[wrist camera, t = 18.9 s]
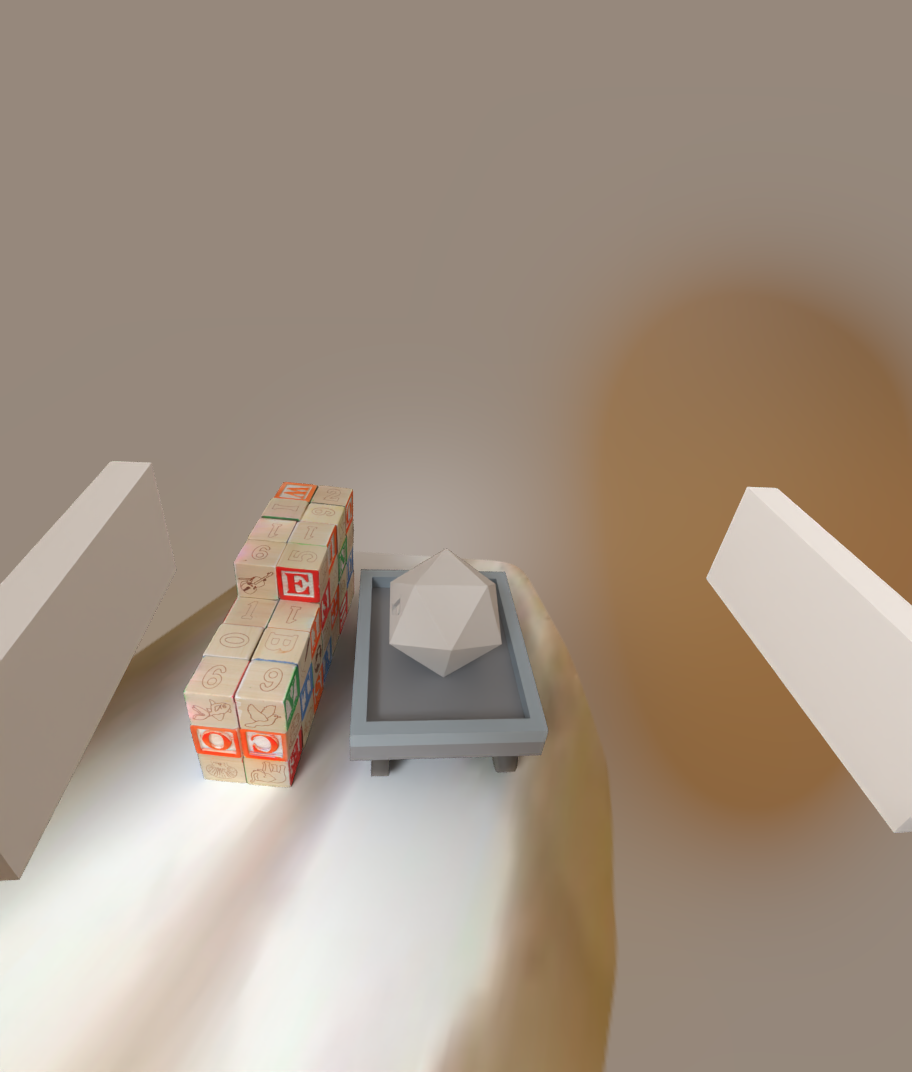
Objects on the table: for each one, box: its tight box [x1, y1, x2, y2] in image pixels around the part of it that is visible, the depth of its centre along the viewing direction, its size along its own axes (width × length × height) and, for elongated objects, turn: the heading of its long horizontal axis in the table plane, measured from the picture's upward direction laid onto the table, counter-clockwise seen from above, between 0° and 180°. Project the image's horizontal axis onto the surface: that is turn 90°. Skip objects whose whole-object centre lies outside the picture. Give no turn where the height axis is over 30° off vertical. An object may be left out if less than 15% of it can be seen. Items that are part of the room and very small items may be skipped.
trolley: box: [350, 569, 548, 776], centre depth 45 cm, size 13×17×6 cm
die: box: [389, 548, 502, 677], centre depth 42 cm, size 8×9×10 cm
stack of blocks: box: [183, 482, 354, 787], centre depth 44 cm, size 21×6×12 cm, turn 177°
